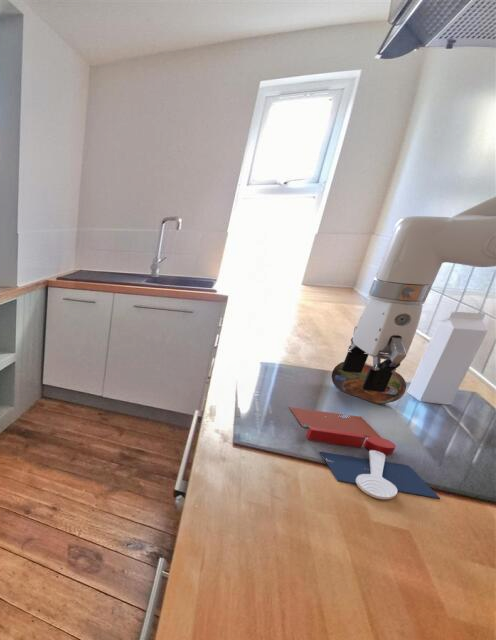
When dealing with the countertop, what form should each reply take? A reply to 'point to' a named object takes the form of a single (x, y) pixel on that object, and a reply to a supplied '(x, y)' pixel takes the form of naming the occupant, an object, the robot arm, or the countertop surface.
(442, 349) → the milk
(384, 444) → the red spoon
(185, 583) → the countertop surface
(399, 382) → the tin
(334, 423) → the terracotta mat
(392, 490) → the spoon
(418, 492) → the blue mat
